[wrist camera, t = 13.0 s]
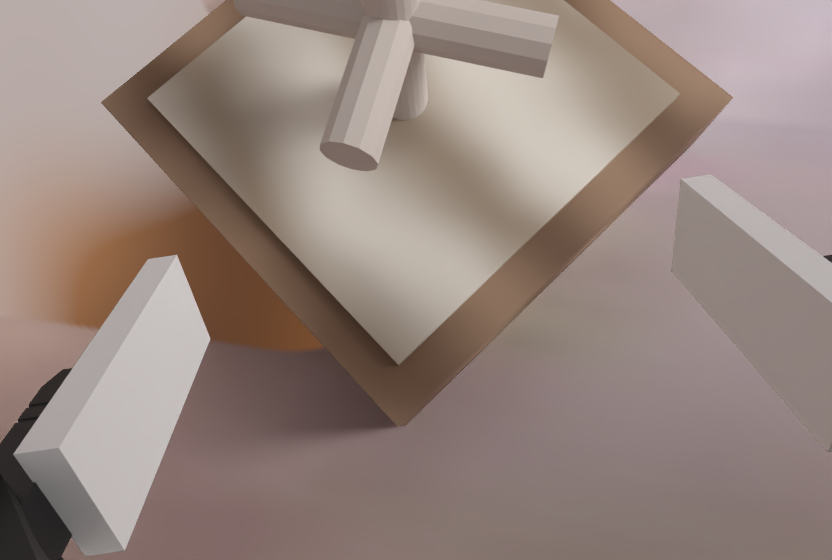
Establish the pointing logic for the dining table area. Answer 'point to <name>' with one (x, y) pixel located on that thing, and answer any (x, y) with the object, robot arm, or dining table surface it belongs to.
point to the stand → (415, 177)
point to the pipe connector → (406, 56)
